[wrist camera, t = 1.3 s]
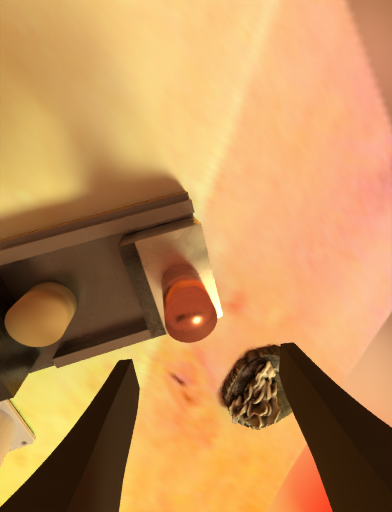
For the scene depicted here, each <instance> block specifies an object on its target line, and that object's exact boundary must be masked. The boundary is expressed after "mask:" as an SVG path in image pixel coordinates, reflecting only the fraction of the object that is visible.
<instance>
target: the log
mask: <svg viewBox="0 0 392 512" xmlns="http://www.w3.org/2000/svg"><path fill="white" fill-rule="evenodd" d="M280 348H281V347H278V346H277V345H273V346H271V347H268V348H266V347H264V348H259V349H258V350H251V351H249V352H248V353H247V354H246V356H245V358H243V359H240V360H239V361H238V362H237V363H236V366H235V368H234V369H233V370H232V371H231V373H230V377H229V378H228V379H227V380H226V382H225V383H224V387H223V390H222V392H223V399H224V401H225V403H226V405H227V407H228V408H229V413H230V415H231V416H232V423H233V424H236V423H237V422H238V423H240V424H241V425H244V426H247V427H249V426H250V427H251V428H252V429H253V430H254V429H256V430H260V428H264V427H265V428H266V427H267V426H269V425H272V424H275V423H277V422H278V421H279V420H281V419H282V418H285V417H286V416H288V415H289V414H290V413H292V412H293V411H292V409H291V407H290V404H289V402H288V400H287V398H286V395H285V392H284V389H283V386H282V383H281V380H280V377H279V361H280Z"/></svg>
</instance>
